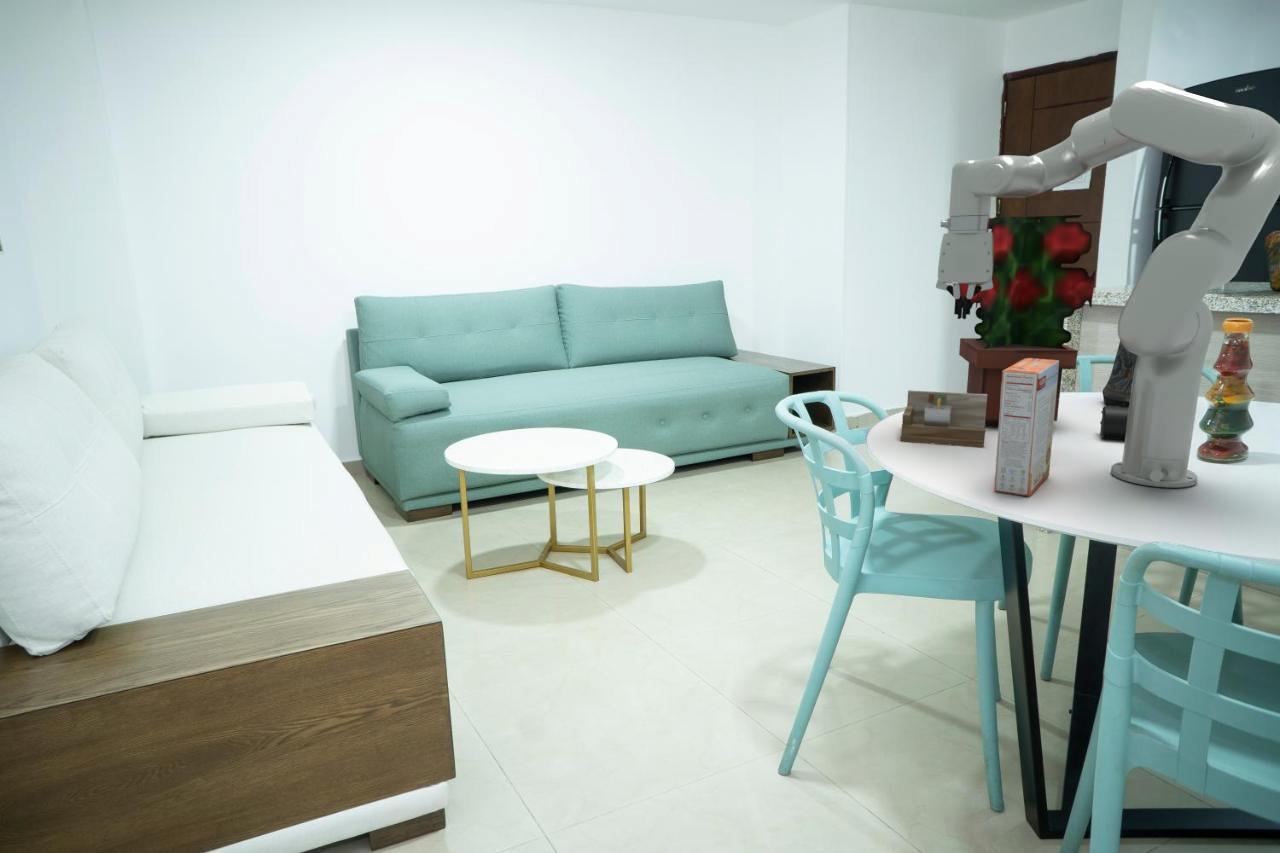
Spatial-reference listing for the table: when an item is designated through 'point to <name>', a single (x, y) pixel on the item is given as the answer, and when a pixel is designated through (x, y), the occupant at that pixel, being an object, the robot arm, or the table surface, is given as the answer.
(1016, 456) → the cracker box
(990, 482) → the table surface
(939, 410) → the white block with knob
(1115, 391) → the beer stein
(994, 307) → the potted plant
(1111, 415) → the end cap
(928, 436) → the wooden toy tray
